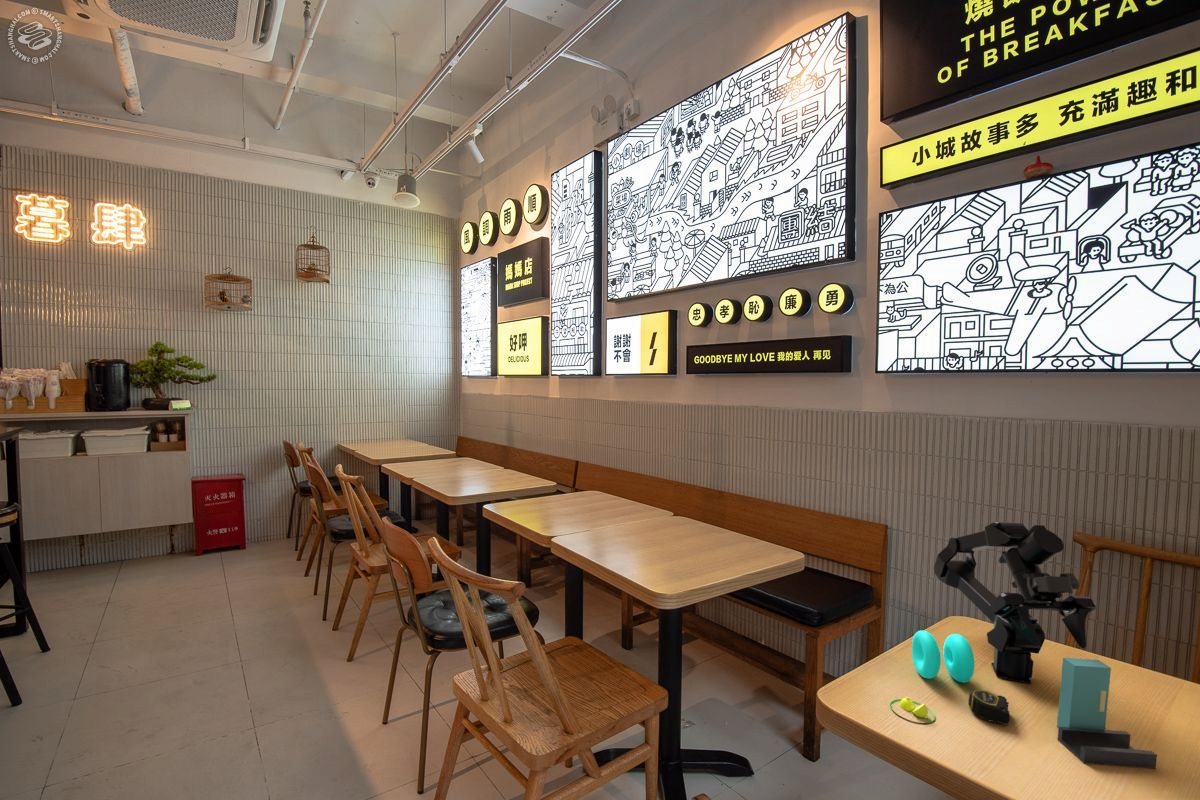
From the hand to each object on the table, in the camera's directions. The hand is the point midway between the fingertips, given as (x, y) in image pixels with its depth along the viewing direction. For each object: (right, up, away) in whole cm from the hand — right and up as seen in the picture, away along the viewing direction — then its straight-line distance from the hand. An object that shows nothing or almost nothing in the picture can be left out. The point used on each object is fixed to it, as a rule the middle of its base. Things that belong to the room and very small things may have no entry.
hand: (1061, 646), depth 118 cm
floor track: (-2, -14, -12) cm, 19 cm away
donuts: (-17, -12, +12) cm, 25 cm away
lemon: (-31, -13, -1) cm, 34 cm away
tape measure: (-15, -13, -2) cm, 20 cm away
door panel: (-2, -14, -6) cm, 15 cm away
